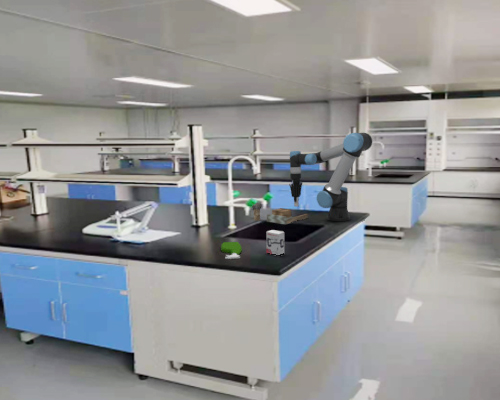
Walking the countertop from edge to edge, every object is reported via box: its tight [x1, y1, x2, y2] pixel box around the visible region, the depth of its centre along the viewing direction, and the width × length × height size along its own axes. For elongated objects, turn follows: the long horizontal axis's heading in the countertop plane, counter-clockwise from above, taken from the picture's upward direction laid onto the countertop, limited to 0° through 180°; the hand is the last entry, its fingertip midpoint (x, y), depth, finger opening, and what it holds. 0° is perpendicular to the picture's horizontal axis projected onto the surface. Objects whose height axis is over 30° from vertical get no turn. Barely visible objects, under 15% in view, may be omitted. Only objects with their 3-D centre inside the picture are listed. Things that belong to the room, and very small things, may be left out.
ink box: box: [265, 229, 285, 256], centre depth 231 cm, size 8×5×12 cm, turn 48°
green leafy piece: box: [220, 241, 243, 260], centre depth 236 cm, size 3×11×24 cm
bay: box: [266, 213, 309, 225], centre depth 316 cm, size 16×26×5 cm, turn 138°
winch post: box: [251, 202, 262, 222], centre depth 316 cm, size 6×4×14 cm
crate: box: [271, 207, 292, 218], centre depth 311 cm, size 9×9×8 cm
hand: (296, 206), depth 321 cm, fingers closed
